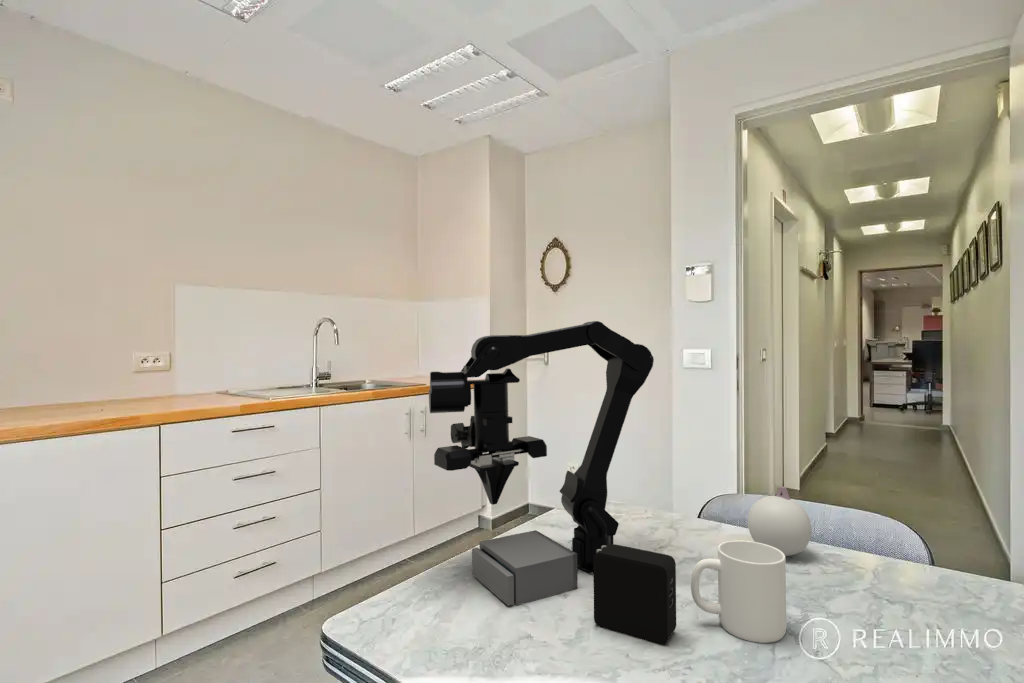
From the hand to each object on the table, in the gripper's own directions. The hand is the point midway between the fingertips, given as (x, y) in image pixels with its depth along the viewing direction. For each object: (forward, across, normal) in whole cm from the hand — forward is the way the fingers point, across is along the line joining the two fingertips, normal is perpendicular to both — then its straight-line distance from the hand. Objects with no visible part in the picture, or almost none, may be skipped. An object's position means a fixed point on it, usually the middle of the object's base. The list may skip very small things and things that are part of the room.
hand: (493, 503), depth 89 cm
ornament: (+13, -48, +20) cm, 53 cm away
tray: (+12, -2, +5) cm, 13 cm away
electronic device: (+12, -8, +25) cm, 29 cm away
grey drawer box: (+12, -2, +5) cm, 13 cm away
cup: (+12, -20, +32) cm, 39 cm away
